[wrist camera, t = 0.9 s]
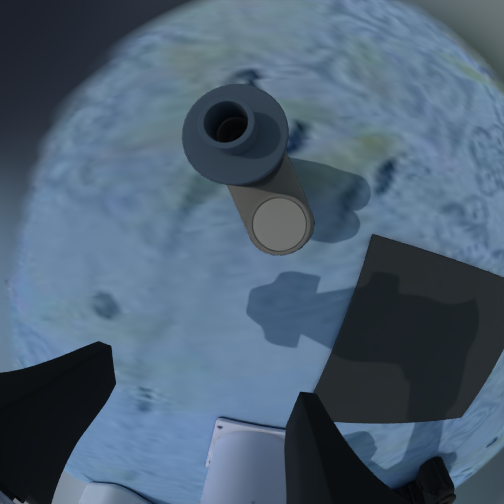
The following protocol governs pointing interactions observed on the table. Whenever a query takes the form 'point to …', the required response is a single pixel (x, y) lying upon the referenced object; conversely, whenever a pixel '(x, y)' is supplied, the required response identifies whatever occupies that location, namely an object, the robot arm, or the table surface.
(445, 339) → the mat
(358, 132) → the table surface
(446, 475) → the film camera
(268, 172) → the vaping device
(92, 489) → the plastic bottle
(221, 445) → the robot arm
